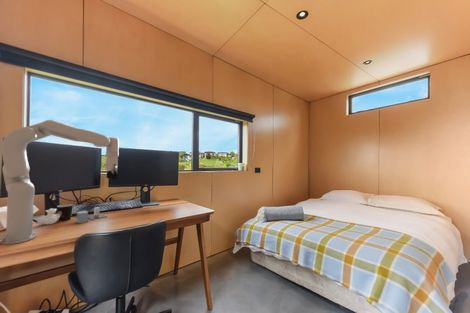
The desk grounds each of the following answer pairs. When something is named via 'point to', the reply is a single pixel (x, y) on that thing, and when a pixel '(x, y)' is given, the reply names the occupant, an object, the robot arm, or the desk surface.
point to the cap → (82, 217)
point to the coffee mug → (64, 211)
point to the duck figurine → (49, 217)
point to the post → (96, 214)
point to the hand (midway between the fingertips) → (111, 178)
